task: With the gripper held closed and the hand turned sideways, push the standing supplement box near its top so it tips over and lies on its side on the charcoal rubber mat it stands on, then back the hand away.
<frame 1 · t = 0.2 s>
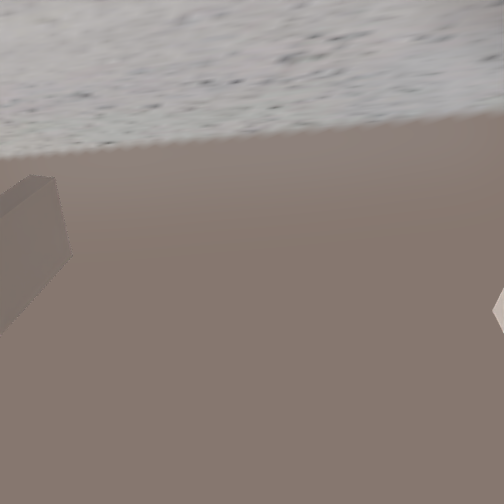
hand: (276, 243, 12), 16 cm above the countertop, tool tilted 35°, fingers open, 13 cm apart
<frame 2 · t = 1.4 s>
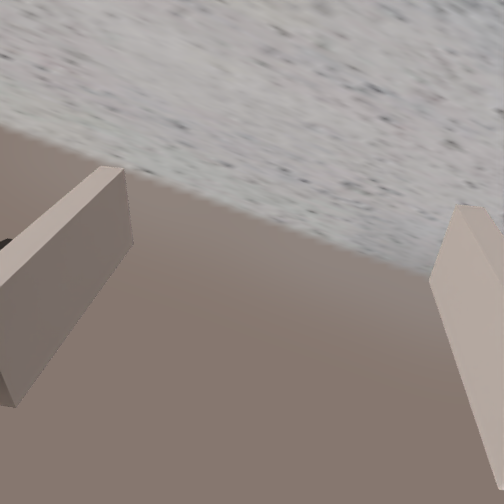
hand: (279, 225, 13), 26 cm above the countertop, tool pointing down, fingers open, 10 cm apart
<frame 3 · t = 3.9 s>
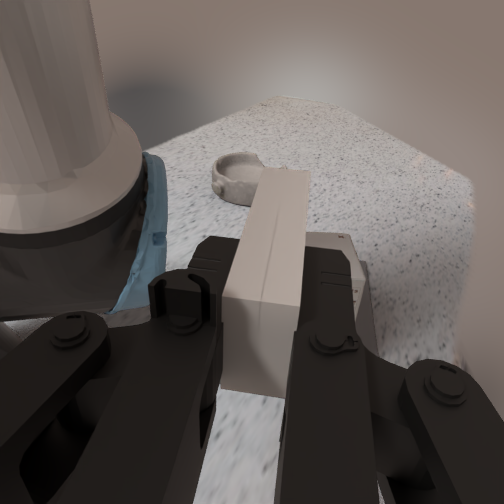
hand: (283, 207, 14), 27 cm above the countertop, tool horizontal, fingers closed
dish: (247, 193, 77), on the countertop
supplement box: (301, 351, 45), resting on mat
mat: (304, 312, 50), on the countertop
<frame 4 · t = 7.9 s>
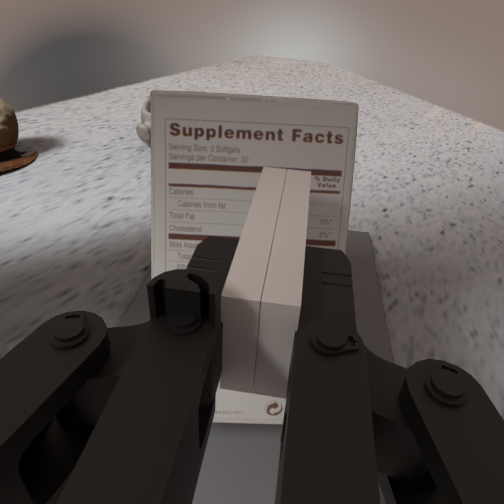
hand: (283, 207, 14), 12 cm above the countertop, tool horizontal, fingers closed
dish: (196, 146, 53), on the countertop
supplement box: (241, 384, 20), point 2 cm above the countertop, touching mat
mat: (256, 320, 26), on the countertop
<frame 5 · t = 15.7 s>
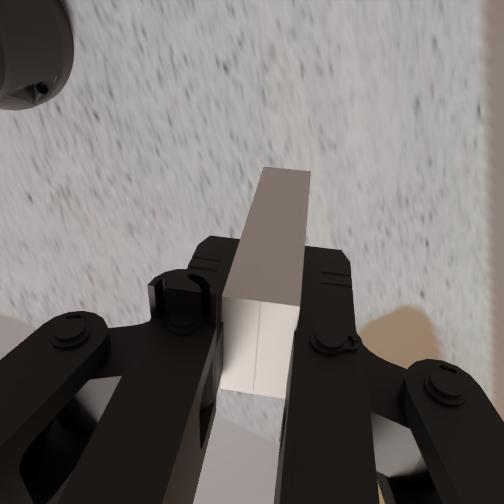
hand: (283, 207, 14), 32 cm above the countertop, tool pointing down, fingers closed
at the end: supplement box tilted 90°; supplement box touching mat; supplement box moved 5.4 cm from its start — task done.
